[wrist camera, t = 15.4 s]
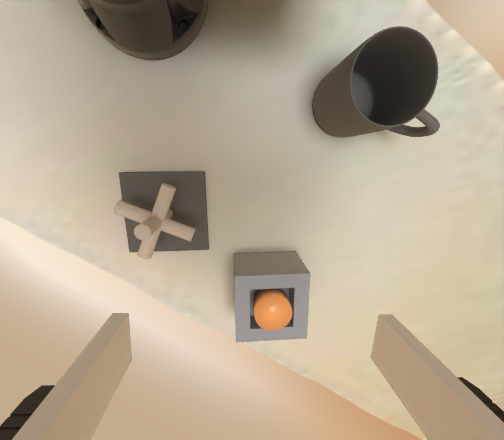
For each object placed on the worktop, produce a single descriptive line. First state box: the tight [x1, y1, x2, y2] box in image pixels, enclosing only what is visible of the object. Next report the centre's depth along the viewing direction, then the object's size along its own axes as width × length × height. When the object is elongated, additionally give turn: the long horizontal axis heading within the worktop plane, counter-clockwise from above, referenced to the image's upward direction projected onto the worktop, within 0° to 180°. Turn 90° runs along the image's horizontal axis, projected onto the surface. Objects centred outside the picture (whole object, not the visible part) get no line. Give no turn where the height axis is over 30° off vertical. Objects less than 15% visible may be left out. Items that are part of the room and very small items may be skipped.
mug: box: [313, 26, 440, 137], centre depth 30 cm, size 14×9×12 cm
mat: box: [119, 172, 209, 252], centre depth 37 cm, size 12×12×1 cm
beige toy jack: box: [114, 183, 195, 259], centre depth 32 cm, size 10×10×10 cm
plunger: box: [253, 288, 292, 331], centre depth 34 cm, size 5×5×2 cm
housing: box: [234, 252, 310, 342], centre depth 37 cm, size 10×10×8 cm
